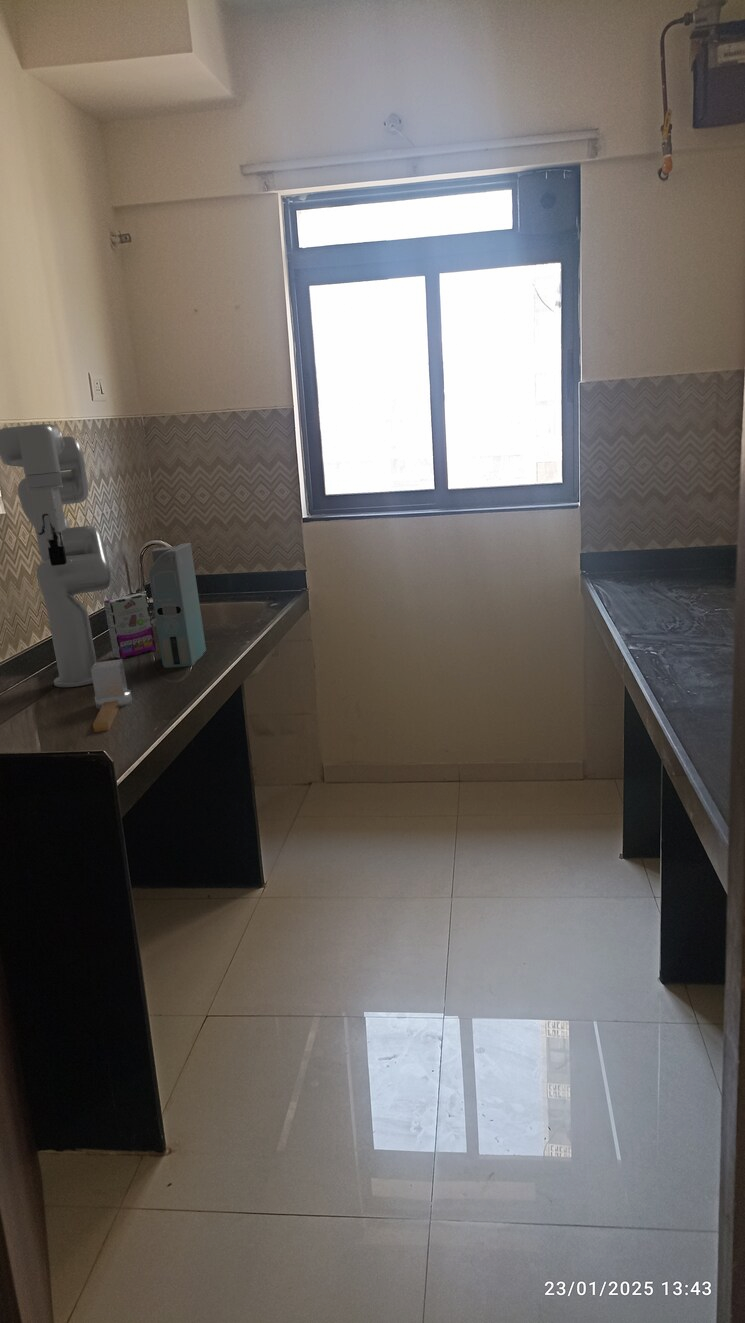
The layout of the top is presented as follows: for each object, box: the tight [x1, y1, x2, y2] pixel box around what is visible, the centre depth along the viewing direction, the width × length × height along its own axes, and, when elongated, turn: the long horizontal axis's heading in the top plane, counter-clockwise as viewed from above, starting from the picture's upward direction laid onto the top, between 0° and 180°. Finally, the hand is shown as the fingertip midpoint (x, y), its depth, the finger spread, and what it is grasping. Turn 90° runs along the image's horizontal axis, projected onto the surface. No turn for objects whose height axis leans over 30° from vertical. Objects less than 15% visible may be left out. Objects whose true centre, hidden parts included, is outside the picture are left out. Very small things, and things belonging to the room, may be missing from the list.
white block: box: [91, 659, 128, 699], centre depth 210 cm, size 6×6×7 cm
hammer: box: [92, 688, 133, 733], centre depth 203 cm, size 24×8×6 cm, turn 8°
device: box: [148, 542, 207, 669], centre depth 245 cm, size 16×8×30 cm, turn 177°
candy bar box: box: [103, 592, 157, 660], centre depth 259 cm, size 11×5×16 cm, turn 131°
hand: (59, 564), depth 209 cm, fingers closed
